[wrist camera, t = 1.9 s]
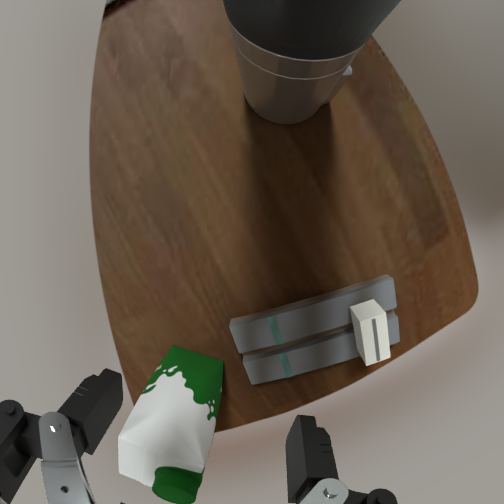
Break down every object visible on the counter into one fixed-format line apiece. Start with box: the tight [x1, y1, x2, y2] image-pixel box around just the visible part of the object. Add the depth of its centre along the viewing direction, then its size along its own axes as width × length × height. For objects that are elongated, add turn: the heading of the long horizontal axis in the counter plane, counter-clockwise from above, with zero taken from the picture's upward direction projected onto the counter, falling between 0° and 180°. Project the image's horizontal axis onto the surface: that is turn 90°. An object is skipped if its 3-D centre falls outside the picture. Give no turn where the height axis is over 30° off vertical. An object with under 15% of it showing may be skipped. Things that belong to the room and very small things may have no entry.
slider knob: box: [350, 299, 390, 366], centre depth 31 cm, size 3×6×5 cm, turn 17°
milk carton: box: [118, 345, 224, 504], centre depth 27 cm, size 9×9×20 cm
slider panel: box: [229, 274, 400, 385], centre depth 34 cm, size 20×9×2 cm, turn 107°
